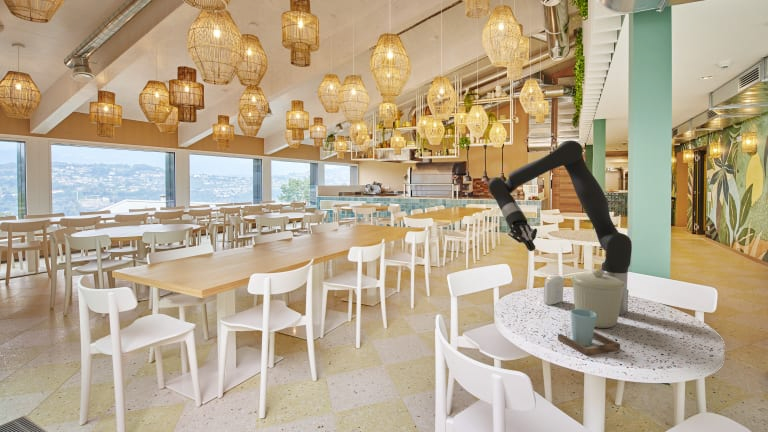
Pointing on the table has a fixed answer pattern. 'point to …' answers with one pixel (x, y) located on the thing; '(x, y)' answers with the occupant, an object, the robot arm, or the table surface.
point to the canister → (599, 296)
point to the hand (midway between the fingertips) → (532, 249)
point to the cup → (583, 326)
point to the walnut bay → (607, 347)
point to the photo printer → (553, 290)
